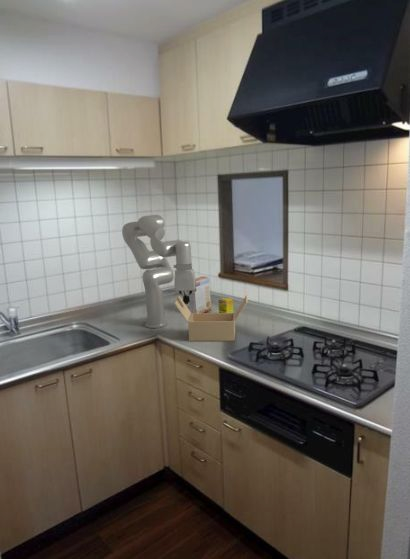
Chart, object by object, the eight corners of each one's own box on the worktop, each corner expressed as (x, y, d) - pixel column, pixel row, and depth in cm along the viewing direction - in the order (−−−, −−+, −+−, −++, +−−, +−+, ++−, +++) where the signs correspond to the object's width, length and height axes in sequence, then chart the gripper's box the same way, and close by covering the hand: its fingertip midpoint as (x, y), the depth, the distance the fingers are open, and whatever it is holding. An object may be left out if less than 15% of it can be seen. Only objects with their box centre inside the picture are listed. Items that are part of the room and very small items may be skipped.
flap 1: (179, 295, 217) (178, 296, 218) (174, 302, 204) (174, 303, 204) (191, 313, 219) (190, 313, 219) (187, 321, 206) (186, 321, 206)
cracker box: (203, 309, 261) (202, 275, 257) (211, 310, 258) (210, 276, 253) (188, 314, 251) (186, 280, 246) (196, 316, 247) (194, 281, 243)
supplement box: (218, 318, 243) (218, 299, 240) (225, 315, 247) (224, 297, 245) (226, 319, 239) (226, 301, 236) (233, 317, 243) (232, 298, 241)
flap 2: (246, 302, 201) (247, 302, 201) (246, 294, 214) (247, 295, 214) (234, 320, 203) (235, 321, 203) (235, 312, 216) (236, 313, 216)
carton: (189, 341, 208) (188, 322, 205) (193, 331, 221) (192, 313, 219) (234, 341, 205) (233, 321, 203) (235, 331, 219) (234, 313, 217)
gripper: (167, 269, 204) (170, 305, 208) (198, 268, 202) (200, 305, 206) (170, 266, 211) (173, 301, 215) (200, 265, 210) (202, 301, 213)
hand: (186, 303), depth 211 cm, fingers closed
